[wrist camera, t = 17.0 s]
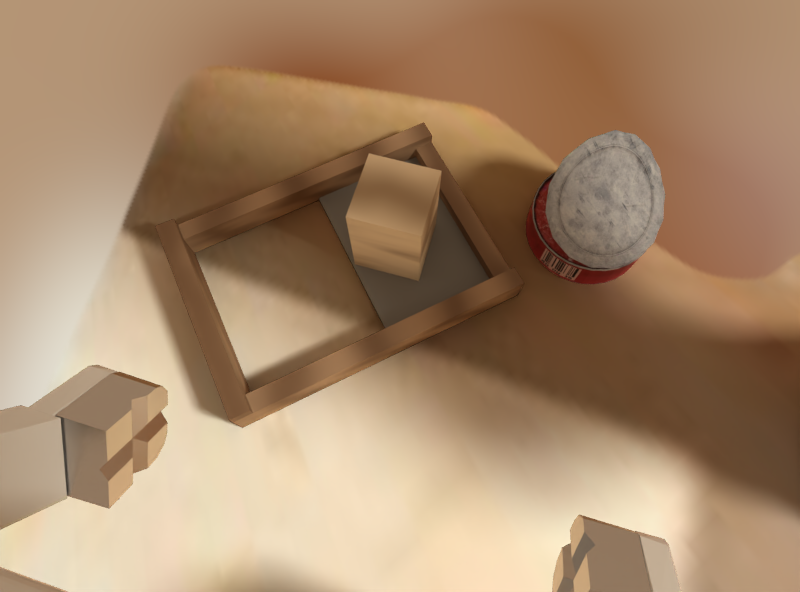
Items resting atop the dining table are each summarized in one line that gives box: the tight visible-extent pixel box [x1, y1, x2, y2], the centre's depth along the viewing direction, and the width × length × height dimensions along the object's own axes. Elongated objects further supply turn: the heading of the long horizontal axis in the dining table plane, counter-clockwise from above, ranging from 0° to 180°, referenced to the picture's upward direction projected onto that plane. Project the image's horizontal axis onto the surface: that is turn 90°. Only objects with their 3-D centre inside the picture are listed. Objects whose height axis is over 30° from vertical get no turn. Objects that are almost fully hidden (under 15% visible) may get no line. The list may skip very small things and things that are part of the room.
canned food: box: [526, 130, 665, 284], centre depth 46 cm, size 11×10×10 cm
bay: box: [155, 123, 524, 428], centre depth 46 cm, size 24×17×4 cm
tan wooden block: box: [346, 153, 441, 281], centre depth 44 cm, size 6×6×8 cm
